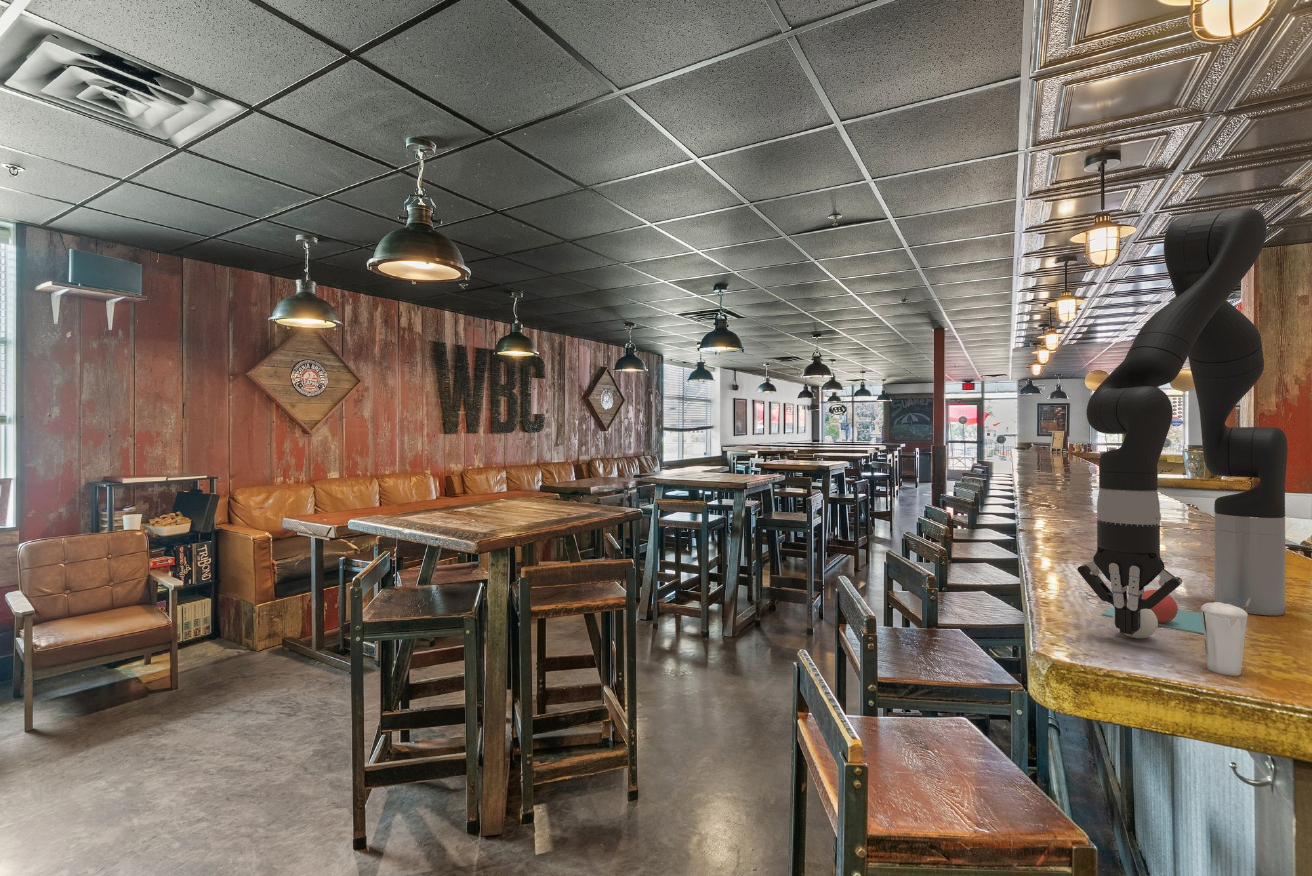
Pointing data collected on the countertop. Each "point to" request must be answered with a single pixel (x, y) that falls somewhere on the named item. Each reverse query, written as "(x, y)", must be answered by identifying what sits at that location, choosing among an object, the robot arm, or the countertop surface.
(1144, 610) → the ball
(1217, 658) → the milkshake
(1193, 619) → the mark
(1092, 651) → the countertop surface
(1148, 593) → the ball
